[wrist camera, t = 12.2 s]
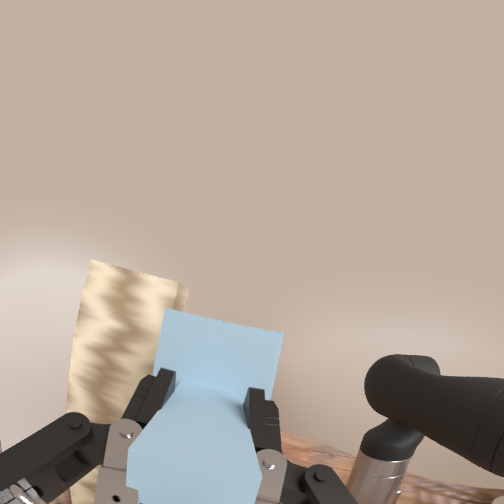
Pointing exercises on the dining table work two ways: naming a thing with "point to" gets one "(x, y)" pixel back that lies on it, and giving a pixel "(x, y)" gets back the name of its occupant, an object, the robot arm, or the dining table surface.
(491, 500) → the dining table surface
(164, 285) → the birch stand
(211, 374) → the blue handle block
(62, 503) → the dining table surface
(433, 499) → the dining table surface
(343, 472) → the dining table surface
